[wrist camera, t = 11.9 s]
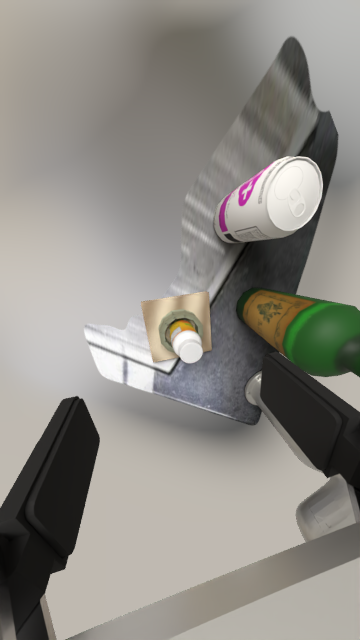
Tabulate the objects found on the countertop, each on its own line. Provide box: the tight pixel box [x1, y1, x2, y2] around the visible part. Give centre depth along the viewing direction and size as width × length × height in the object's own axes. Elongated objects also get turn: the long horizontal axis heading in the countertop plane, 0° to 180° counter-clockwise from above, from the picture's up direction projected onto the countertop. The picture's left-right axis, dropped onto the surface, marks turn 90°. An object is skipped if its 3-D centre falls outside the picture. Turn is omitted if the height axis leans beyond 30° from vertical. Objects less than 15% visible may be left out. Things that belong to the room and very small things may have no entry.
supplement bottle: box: [169, 319, 203, 363], centre depth 33 cm, size 5×5×10 cm
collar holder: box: [141, 291, 212, 362], centre depth 37 cm, size 14×14×4 cm
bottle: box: [236, 288, 360, 377], centre depth 28 cm, size 11×11×28 cm
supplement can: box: [214, 156, 323, 243], centre depth 26 cm, size 8×8×15 cm
